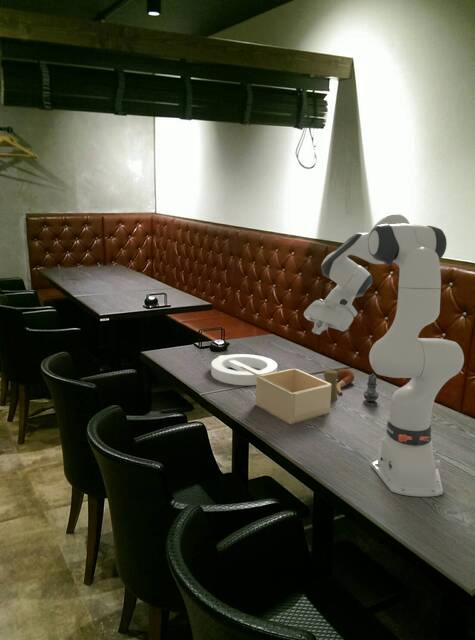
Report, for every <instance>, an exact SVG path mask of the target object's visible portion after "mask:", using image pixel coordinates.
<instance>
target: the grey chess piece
mask: <svg viewBox="0 0 475 640" xmlns="http://www.w3.org/2000/svg"><path fill="white" fill-rule="evenodd" d="M374 373H375V372H372V373H371V374H369V376H368V379H367V380H368V381H367V383H366V385H367V389H366V391H363V392H362V394H363V398H364V400H363V401H362V403H363V404H365V405H367V406H377V405H378V402H377V400H378V398H379V396H380V394H379V392H377V385H378V384H377V375H375V374H374Z"/></svg>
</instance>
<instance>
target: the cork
mask: <svg viewBox="0 0 475 640" xmlns="http://www.w3.org/2000/svg"><path fill="white" fill-rule="evenodd" d="M323 377H324V381H326V382H328V383H331V384H332V387H331V401H330V402H336V401H337V400H338V391H337V386H336V384H337V378H338V373H337V371H336V370H334V369H333V370H332V369H327V370H325V371H324V373H323Z"/></svg>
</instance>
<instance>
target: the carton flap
mask: <svg viewBox="0 0 475 640" xmlns="http://www.w3.org/2000/svg"><path fill="white" fill-rule="evenodd" d="M240 368H242V369H244V370H246V371H248V372H250V373H252V374H254V375H256V376H258V377H260V378H262V379H264V380H266V381H268V382H270V383H272V384H274V385H276V386H278V387H280V388H282V389H284V390H286V391H288V392H290V390H288V389H286V388H284V387H282V386H280V385H278V384H276V383H274V382H272V381H270V380H268V379H266V378H264V377H262V376H260V375H258V374H256V373H254V372H252V371H250V370H248V369H246V368H244V367H242V366H241V367H240Z"/></svg>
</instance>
